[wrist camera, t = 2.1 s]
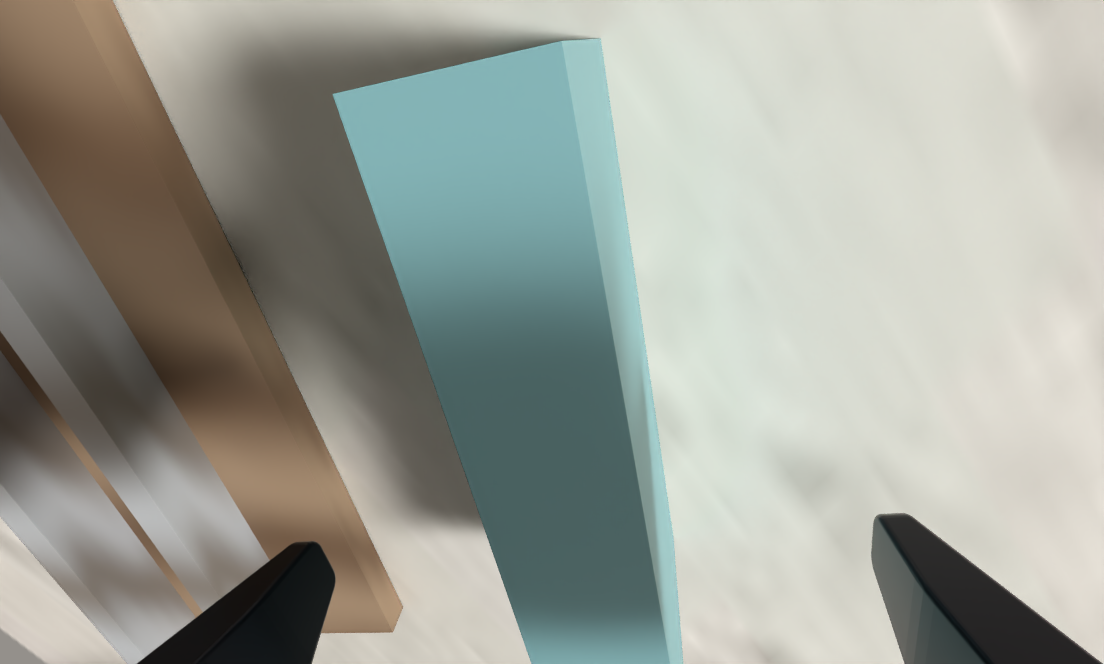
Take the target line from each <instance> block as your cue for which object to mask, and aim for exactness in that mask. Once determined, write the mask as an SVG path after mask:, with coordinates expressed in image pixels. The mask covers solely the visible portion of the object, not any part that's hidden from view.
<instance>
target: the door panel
mask: <svg viewBox="0 0 1104 664" xmlns="http://www.w3.org/2000/svg"><path fill="white" fill-rule="evenodd" d="M333 97H334V100H335V103H336V106H337V109H338V111H339V114H340V117H341V120H342V123H343V126H344V129H345V131H346V134H347V137H348V140H349V143H350V146H351V149H352V151H353V154H354V157H355V160H356V163H357V166H358V169H359V171H360V174H361V177H362V180H363V183H364V186H365V189H366V192H367V194H368V197H369V200H370V203H371V206H372V209H373V212H374V214H375V217H376V220H377V223H378V226H379V229H380V232H381V234H382V237H383V240H384V243H385V246H386V249H387V252H388V254H389V257H390V260H391V263H392V266H393V269H394V272H395V274H396V277H397V280H398V283H399V286H400V289H401V292H402V295H403V297H404V300H405V303H406V306H407V309H408V312H409V315H410V317H411V320H412V323H413V326H414V329H415V332H416V335H417V337H418V340H419V343H420V346H421V349H422V352H423V355H424V357H425V360H426V363H427V366H428V369H429V372H430V375H431V377H432V380H433V383H434V386H435V389H436V392H437V395H438V397H439V400H440V403H441V406H442V409H443V412H444V415H445V418H446V420H447V423H448V426H449V429H450V432H451V435H452V438H453V440H454V443H455V446H456V449H457V452H458V455H459V458H460V460H461V463H462V466H463V469H464V472H465V475H466V478H467V480H468V483H469V486H470V489H471V492H472V495H473V498H474V500H475V503H476V506H477V509H478V512H479V515H480V518H481V520H482V523H483V526H484V529H485V532H486V535H487V538H488V541H489V543H490V546H491V549H492V552H493V555H494V558H495V561H496V563H497V566H498V569H499V572H500V575H501V578H502V581H503V583H504V586H505V589H506V592H507V595H508V598H509V601H510V603H511V606H512V609H513V612H514V615H515V618H516V621H517V623H518V626H519V629H520V632H521V635H522V638H523V641H524V643H525V646H526V649H527V652H528V655H529V658H530V661H531V664H683V654H682V641H681V629H680V616H679V603H678V590H677V578H676V565H675V552H674V539H673V531H672V524H671V518H670V511H669V504H668V497H667V490H666V483H665V476H664V470H663V463H662V456H661V449H660V442H659V435H658V429H657V422H656V415H655V408H654V401H653V394H652V387H651V381H650V374H649V367H648V360H647V353H646V346H645V340H644V333H643V326H642V319H641V312H640V305H639V298H638V292H637V285H636V278H635V271H634V264H633V257H632V251H631V244H630V237H629V230H628V223H627V216H626V209H625V203H624V196H623V189H622V182H621V175H620V168H619V161H618V155H617V148H616V141H615V134H614V127H613V120H612V114H611V107H610V100H609V93H608V86H607V79H606V72H605V66H604V59H603V52H602V45H601V39H584V40H567V41H559V42H554V43H550V44H546V45H541V46H537V47H533V48H528V49H524V50H520V51H516V52H511V53H507V54H503V55H498V56H494V57H490V58H485V59H481V60H477V61H473V62H468V63H464V64H460V65H455V66H451V67H447V68H442V69H438V70H434V71H430V72H425V73H421V74H417V75H412V76H408V77H404V78H399V79H395V80H391V81H386V82H382V83H378V84H374V85H369V86H365V87H361V88H356V89H352V90H348V91H343V92H339V93H335V94H333Z"/></svg>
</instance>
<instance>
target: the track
mask: <svg viewBox="0 0 1104 664" xmlns="http://www.w3.org/2000/svg"><path fill="white" fill-rule="evenodd" d="M0 517H1V518H2V520H3V521H4V522H5V523H6V524H7V525H8V526H9V528H10V529H11V530H12V531H13V532H14V533H15V535H16V536H17V537H18V538H19V539H20V540H21V542H22V543H23V544H24V545H25V546H26V547H27V548H28V550H29V551H30V552H31V553H32V554H33V555H34V557H35V558H36V559H37V560H38V561H39V562H40V564H41V565H42V566H43V567H44V568H45V569H46V570H47V572H48V573H49V574H50V575H51V576H52V577H53V579H54V580H55V581H56V582H57V583H58V584H59V586H60V587H61V588H62V589H63V590H64V591H65V592H66V594H67V595H68V596H69V597H70V598H71V599H72V601H73V602H74V603H75V604H76V605H77V606H78V607H79V609H80V610H81V611H82V612H83V613H84V614H85V616H86V617H87V618H88V619H89V620H90V621H91V623H92V624H93V625H94V626H95V627H96V628H97V629H98V631H99V632H100V633H101V634H102V635H103V636H104V638H105V639H106V640H107V641H108V642H109V643H110V645H111V646H112V647H113V648H114V649H115V650H116V651H117V653H118V654H119V655H120V656H121V657H122V658H123V660H124V661H125V662H126V663H127V664H137V663H138V662H139V661H141V660H142V659H143V658H144V657H146V656H147V655H148V654H150V653H151V652H152V651H153V650H155V649H156V648H157V647H159V646H160V645H161V644H163V643H164V642H165V641H166V640H168V639H169V638H170V637H172V636H173V635H174V634H175V633H177V632H178V631H179V630H181V629H182V628H183V627H184V626H186V625H187V624H188V623H190V622H191V621H192V620H193V619H195V618H196V617H197V616H199V615H200V614H201V613H203V612H204V611H205V610H206V609H208V608H209V607H210V606H212V605H213V604H214V603H215V602H217V601H218V600H219V599H221V598H222V597H223V596H224V595H226V594H227V593H228V592H230V591H231V590H232V589H234V588H235V587H236V586H237V585H239V584H240V583H241V582H243V581H244V580H245V579H246V578H248V577H249V576H250V575H252V574H253V573H254V572H255V571H257V570H258V569H259V568H261V567H262V566H263V565H264V564H266V563H267V562H268V561H270V560H271V559H272V558H274V557H275V556H276V555H277V554H279V553H280V552H281V551H283V550H284V549H285V548H286V547H288V546H289V545H290V544H292V543H295V542H302V541H316V542H317V543H319V544H320V546H321V547H322V549H323V551H324V553H325V555H326V556H327V558H328V560H329V562H330V564H331V566H332V568H333V570H334V572H335V576H336V582H335V588H334V592H333V595H332V598H331V601H330V605H329V608H328V611H327V615H326V618H325V621H324V625H323V628H322V631H321V633H381V632H393V631H394V628H395V626H396V623H397V621H398V618H399V616H400V613H401V611H402V609H403V606H402V604H401V602H400V600H399V598H398V596H397V594H396V591H395V589H394V587H393V585H392V583H391V581H390V579H389V577H388V575H387V573H386V571H385V568H384V566H383V564H382V562H381V560H380V558H379V556H378V554H377V552H376V550H375V548H374V545H373V543H372V541H371V539H370V537H369V535H368V533H367V531H366V529H365V527H364V525H363V523H362V520H361V518H360V516H359V514H358V512H357V510H356V508H355V506H354V504H353V502H352V500H351V497H350V495H349V493H348V491H347V489H346V487H345V485H344V483H343V481H342V479H341V477H340V474H339V472H338V470H337V468H336V466H335V464H334V462H333V460H332V458H331V456H330V454H329V452H328V449H327V447H326V445H325V443H324V441H323V439H322V437H321V435H320V433H319V431H318V429H317V426H316V424H315V422H314V420H313V418H312V416H311V414H310V412H309V410H308V408H307V406H306V403H305V401H304V399H303V397H302V395H301V393H300V391H299V389H298V387H297V385H296V383H295V381H294V378H293V376H292V374H291V372H290V370H289V368H288V366H287V364H286V362H285V360H284V358H283V355H282V353H281V351H280V349H279V347H278V345H277V343H276V341H275V339H274V337H273V335H272V332H271V330H270V328H269V326H268V324H267V322H266V320H265V318H264V316H263V314H262V312H261V310H260V307H259V305H258V303H257V301H256V299H255V297H254V295H253V293H252V291H251V289H250V287H249V284H248V282H247V280H246V278H245V276H244V274H243V272H242V270H241V268H240V266H239V264H238V261H237V259H236V257H235V255H234V253H233V251H232V249H231V247H230V245H229V243H228V241H227V239H226V236H225V234H224V232H223V230H222V228H221V226H220V224H219V222H218V220H217V218H216V216H215V213H214V211H213V209H212V207H211V205H210V203H209V201H208V199H207V197H206V195H205V193H204V190H203V188H202V186H201V184H200V182H199V180H198V178H197V176H196V174H195V172H194V170H193V168H192V165H191V163H190V161H189V159H188V157H187V155H186V153H185V151H184V149H183V147H182V145H181V142H180V140H179V138H178V136H177V134H176V132H175V130H174V128H173V126H172V124H171V122H170V119H169V117H168V115H167V113H166V111H165V109H164V107H163V105H162V103H161V101H160V99H159V97H158V94H157V92H156V90H155V88H154V86H153V84H152V82H151V80H150V78H149V76H148V74H147V71H146V69H145V67H144V65H143V63H142V61H141V59H140V57H139V55H138V53H137V51H136V48H135V46H134V44H133V42H132V40H131V38H130V36H129V34H128V32H127V30H126V28H125V26H124V23H123V21H122V19H121V17H120V15H119V13H118V11H117V9H116V7H115V5H114V3H113V0H0Z"/></svg>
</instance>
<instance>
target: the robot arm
mask: <svg viewBox="0 0 1104 664" xmlns="http://www.w3.org/2000/svg"><path fill="white" fill-rule="evenodd" d="M871 558H872V565H873V569H874V572H875V576H876V579H877V582H878V585H879V588H880V591H881V594H882V597H883V600H884V603H885V606H886V609H887V612H888V615H889V618H890V621H891V624H892V627H893V630H894V633H895V636H896V639H897V642H898V645H899V648H900V651H901V654H902V657H903V660H904V663H905V664H1102V663H1101V662H1100V661H1099V660H1097V659H1096V658H1095V657H1093V656H1092V655H1091V654H1090V653H1088V652H1087V651H1086V650H1084V649H1083V648H1082V647H1080V646H1079V645H1078V644H1077V643H1075V642H1074V641H1073V640H1071V639H1070V638H1069V637H1067V636H1066V635H1065V634H1064V633H1062V632H1061V631H1060V630H1058V629H1057V628H1056V627H1055V626H1053V625H1052V624H1051V623H1049V622H1048V621H1047V620H1045V619H1044V618H1043V617H1042V616H1040V615H1039V614H1038V613H1036V612H1035V611H1034V610H1033V609H1031V608H1030V607H1029V606H1027V605H1026V604H1025V603H1023V602H1022V601H1021V600H1020V599H1018V598H1017V597H1016V596H1014V595H1013V594H1012V593H1010V592H1009V591H1008V590H1007V589H1005V588H1004V587H1003V586H1001V585H1000V584H999V583H998V582H996V581H995V580H994V579H992V578H991V577H990V576H988V575H987V574H986V573H985V572H983V571H982V570H981V569H979V568H978V567H977V566H975V565H974V564H973V563H972V562H970V561H969V560H968V559H966V558H965V557H964V556H963V555H961V554H960V553H959V552H957V551H956V550H955V549H953V548H952V547H951V546H950V545H948V544H947V543H946V542H944V541H943V540H942V539H941V538H939V537H938V536H937V535H935V534H934V533H933V532H931V531H930V530H929V529H928V528H926V527H925V526H924V525H922V524H921V523H920V522H918V521H917V520H916V519H915V518H913V517H912V516H910V515H908V514H905V513H894V514H879V515H877V516H876V517H875V519H874V523H873V537H872V551H871ZM335 582H336V576H335V572H334V570H333V568H332V566H331V564H330V562H329V560H328V558H327V556H326V555H325V553H324V551H323V549H322V547H321V546H320V544H319V543H317V542H316V541H302V542H295V543H292V544H290V545H289V546H288V547H286V548H285V549H284V550H283V551H281V552H280V553H279V554H277V555H276V556H275V557H274V558H272V559H271V560H270V561H268V562H267V563H266V564H264V565H263V566H262V567H261V568H259V569H258V570H257V571H255V572H254V573H253V574H252V575H250V576H249V577H248V578H246V579H245V580H244V581H243V582H241V583H240V584H239V585H237V586H236V587H235V588H234V589H232V590H231V591H230V592H228V593H227V594H226V595H224V596H223V597H222V598H221V599H219V600H218V601H217V602H215V603H214V604H213V605H212V606H210V607H209V608H208V609H206V610H205V611H204V612H203V613H201V614H200V615H199V616H197V617H196V618H195V619H193V620H192V621H191V622H190V623H188V624H187V625H186V626H184V627H183V628H182V629H181V630H179V631H178V632H177V633H175V634H174V635H173V636H172V637H170V638H169V639H168V640H166V641H165V642H164V643H163V644H161V645H160V646H159V647H157V648H156V649H155V650H153V651H152V652H151V653H150V654H148V655H147V656H146V657H144V658H143V659H142V660H141V661H139V662H138V663H137V664H312V661H313V658H314V654H315V651H316V648H317V644H318V641H319V638H320V634H321V631H322V628H323V625H324V621H325V618H326V615H327V611H328V608H329V605H330V601H331V598H332V595H333V592H334V588H335Z"/></svg>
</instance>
